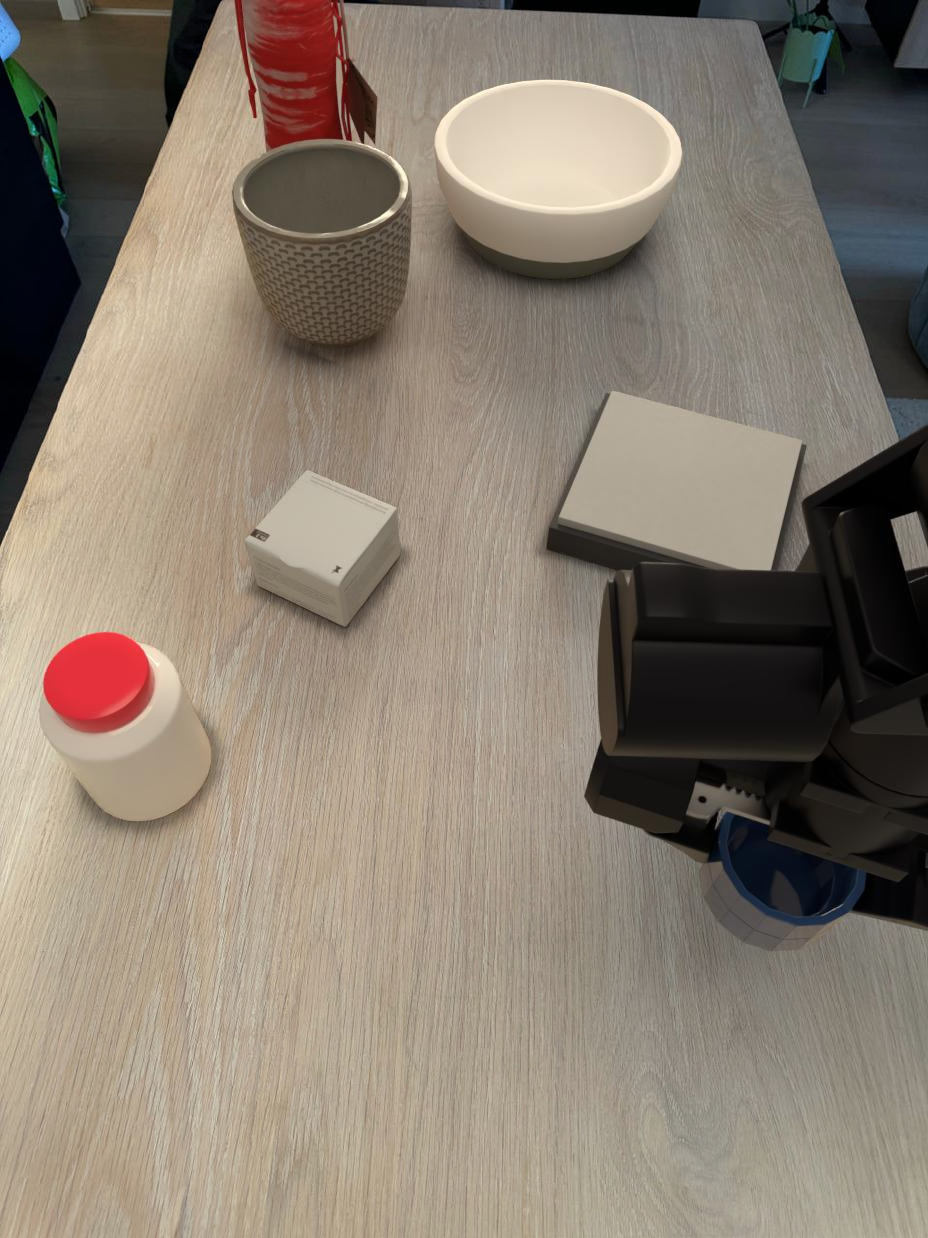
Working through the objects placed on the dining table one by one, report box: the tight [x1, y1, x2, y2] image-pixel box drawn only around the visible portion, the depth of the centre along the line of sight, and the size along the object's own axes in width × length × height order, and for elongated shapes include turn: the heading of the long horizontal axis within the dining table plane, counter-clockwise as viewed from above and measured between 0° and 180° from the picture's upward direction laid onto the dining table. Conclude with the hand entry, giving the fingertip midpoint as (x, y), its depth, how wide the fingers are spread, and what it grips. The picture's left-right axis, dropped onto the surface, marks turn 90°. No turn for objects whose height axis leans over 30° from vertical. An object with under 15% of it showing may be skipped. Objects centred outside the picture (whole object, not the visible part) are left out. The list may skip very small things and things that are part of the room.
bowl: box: [433, 79, 684, 280], centre depth 89 cm, size 22×22×8 cm
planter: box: [231, 139, 413, 350], centre depth 78 cm, size 14×14×13 cm
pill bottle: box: [38, 631, 213, 822], centre depth 55 cm, size 8×8×11 cm
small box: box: [243, 469, 402, 628], centre depth 66 cm, size 8×8×5 cm
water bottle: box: [233, 0, 378, 152], centre depth 83 cm, size 12×8×25 cm, turn 84°
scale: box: [545, 390, 808, 571], centre depth 71 cm, size 16×15×3 cm
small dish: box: [698, 796, 867, 952], centre depth 43 cm, size 6×6×4 cm
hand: (772, 876), depth 44 cm, fingers closed on small dish, 6 cm apart
